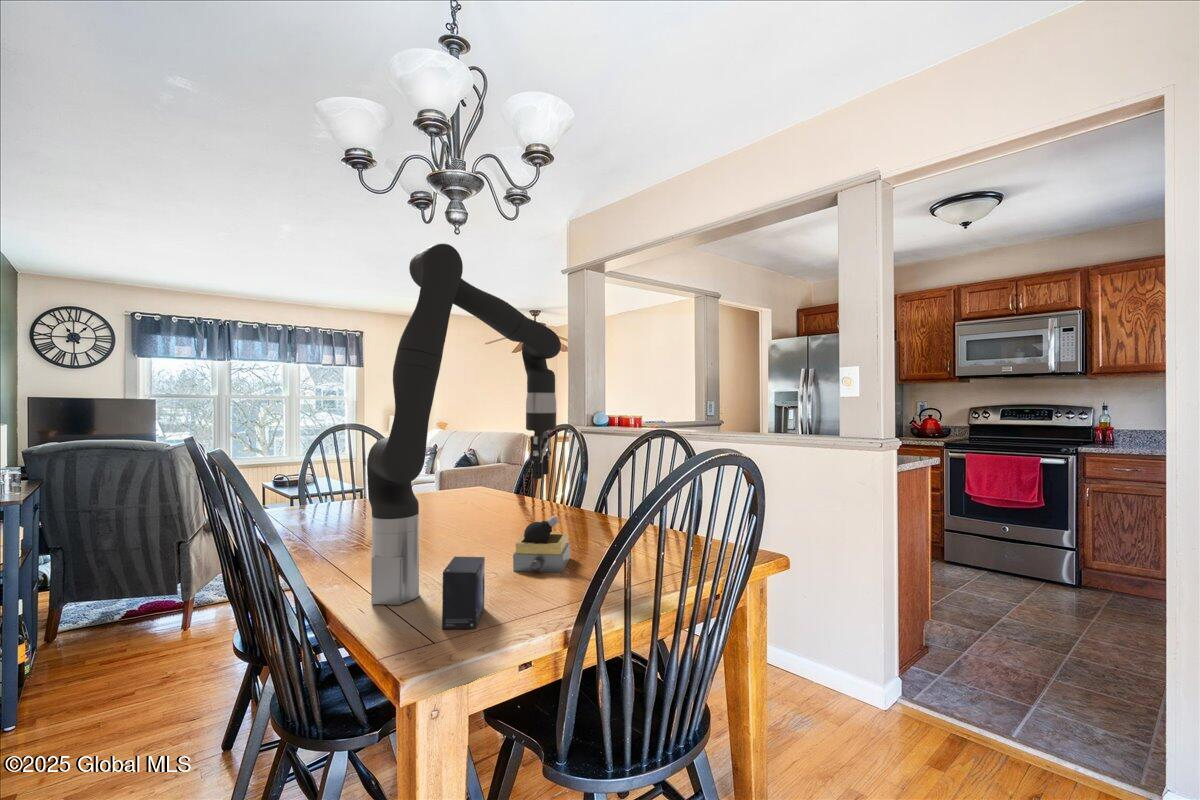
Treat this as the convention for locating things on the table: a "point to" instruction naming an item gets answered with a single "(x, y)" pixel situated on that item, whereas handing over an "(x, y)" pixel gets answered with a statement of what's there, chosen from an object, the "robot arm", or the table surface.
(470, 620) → the small box
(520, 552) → the tan and grey block
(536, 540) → the light bulb
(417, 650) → the table surface
